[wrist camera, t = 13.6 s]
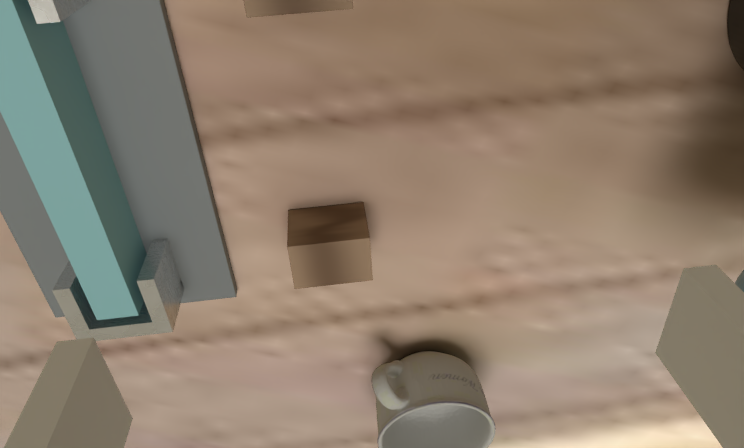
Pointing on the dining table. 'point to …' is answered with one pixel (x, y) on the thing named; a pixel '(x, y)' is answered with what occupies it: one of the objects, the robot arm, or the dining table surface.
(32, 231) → the cap board
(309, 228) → the block
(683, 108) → the dining table surface
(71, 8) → the end caps
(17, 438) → the robot arm
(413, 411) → the teacup
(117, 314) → the slat
